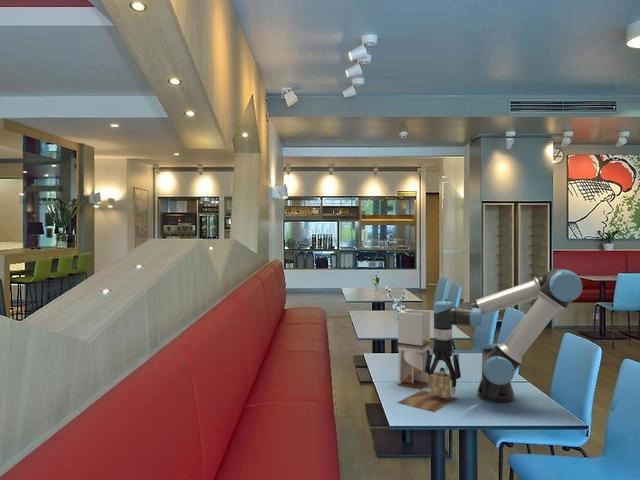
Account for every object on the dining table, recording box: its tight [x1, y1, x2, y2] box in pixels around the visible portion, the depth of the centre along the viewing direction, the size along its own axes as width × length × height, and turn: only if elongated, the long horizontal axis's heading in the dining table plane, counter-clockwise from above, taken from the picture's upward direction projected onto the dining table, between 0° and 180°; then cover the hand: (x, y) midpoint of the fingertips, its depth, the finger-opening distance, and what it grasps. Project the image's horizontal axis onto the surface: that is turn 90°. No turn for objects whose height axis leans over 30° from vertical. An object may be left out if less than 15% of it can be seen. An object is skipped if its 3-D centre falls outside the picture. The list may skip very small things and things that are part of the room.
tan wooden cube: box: [428, 370, 456, 398], centre depth 218 cm, size 8×8×8 cm
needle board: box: [396, 367, 459, 413], centre depth 216 cm, size 17×22×15 cm
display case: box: [397, 308, 431, 390], centre depth 238 cm, size 11×11×35 cm
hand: (442, 392), depth 218 cm, fingers closed on tan wooden cube, 8 cm apart
